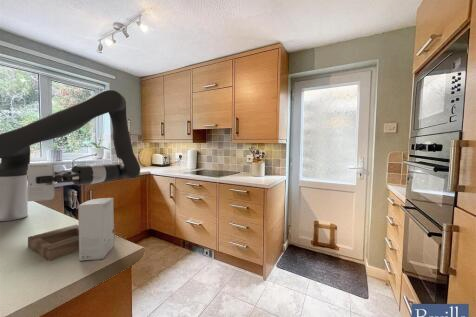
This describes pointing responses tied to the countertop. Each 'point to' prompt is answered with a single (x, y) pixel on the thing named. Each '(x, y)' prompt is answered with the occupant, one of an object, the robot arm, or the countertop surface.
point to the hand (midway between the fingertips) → (32, 179)
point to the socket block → (55, 242)
